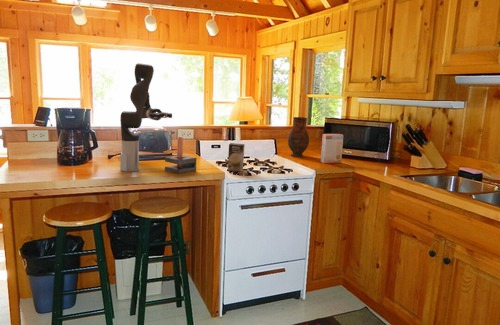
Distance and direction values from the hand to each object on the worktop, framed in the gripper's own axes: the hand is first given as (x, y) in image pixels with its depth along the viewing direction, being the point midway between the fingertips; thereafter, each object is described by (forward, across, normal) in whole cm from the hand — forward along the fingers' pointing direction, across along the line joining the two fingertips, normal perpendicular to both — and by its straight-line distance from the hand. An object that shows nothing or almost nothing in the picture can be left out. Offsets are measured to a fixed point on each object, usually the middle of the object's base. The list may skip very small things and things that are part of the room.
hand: (165, 116), depth 230 cm
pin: (+22, -1, +30) cm, 37 cm away
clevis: (+22, -1, +30) cm, 37 cm away
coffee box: (+33, +31, +30) cm, 55 cm away
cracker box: (+41, +110, +30) cm, 121 cm away
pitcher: (+9, +107, +30) cm, 112 cm away
